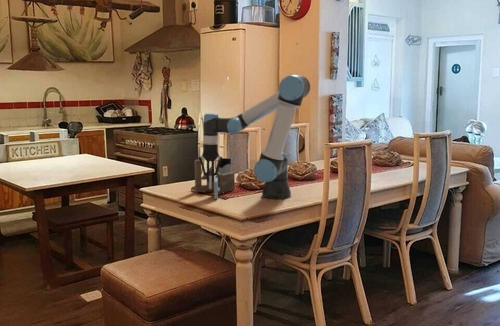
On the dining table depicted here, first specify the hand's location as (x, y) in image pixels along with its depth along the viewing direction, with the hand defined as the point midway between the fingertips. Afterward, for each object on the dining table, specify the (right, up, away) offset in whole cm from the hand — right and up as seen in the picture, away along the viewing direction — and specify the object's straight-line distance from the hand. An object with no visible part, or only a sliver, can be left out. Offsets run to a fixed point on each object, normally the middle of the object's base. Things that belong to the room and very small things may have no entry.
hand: (210, 188), depth 273 cm
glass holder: (+4, +1, +38) cm, 39 cm away
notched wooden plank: (+7, -3, +14) cm, 16 cm away
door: (+4, -4, +1) cm, 6 cm away
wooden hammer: (-4, -3, +15) cm, 16 cm away
